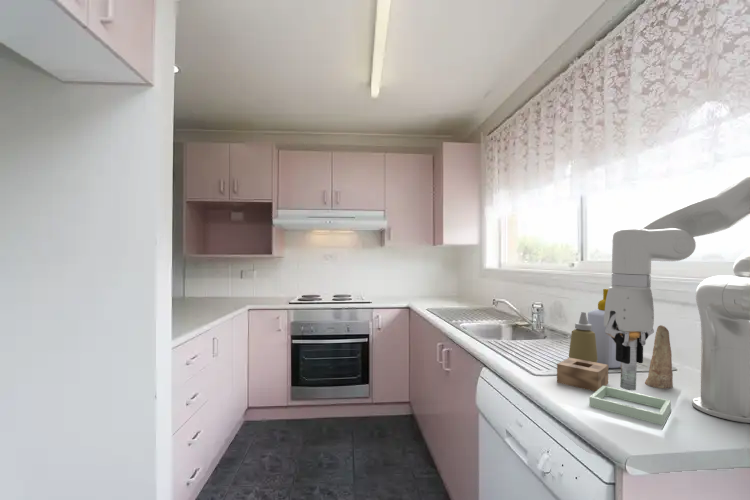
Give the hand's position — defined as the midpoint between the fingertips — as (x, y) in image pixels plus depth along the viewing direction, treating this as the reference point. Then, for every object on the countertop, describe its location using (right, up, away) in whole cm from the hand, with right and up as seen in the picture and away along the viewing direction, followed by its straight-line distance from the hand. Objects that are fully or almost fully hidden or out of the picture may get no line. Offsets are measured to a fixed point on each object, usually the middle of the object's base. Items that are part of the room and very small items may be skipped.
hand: (629, 361), depth 87 cm
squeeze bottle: (+7, -13, +33) cm, 36 cm away
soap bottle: (+19, -13, +39) cm, 45 cm away
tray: (0, -12, 0) cm, 12 cm away
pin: (0, -6, 0) cm, 6 cm away
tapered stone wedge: (+19, -13, +16) cm, 28 cm away
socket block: (-2, -12, +17) cm, 21 cm away
